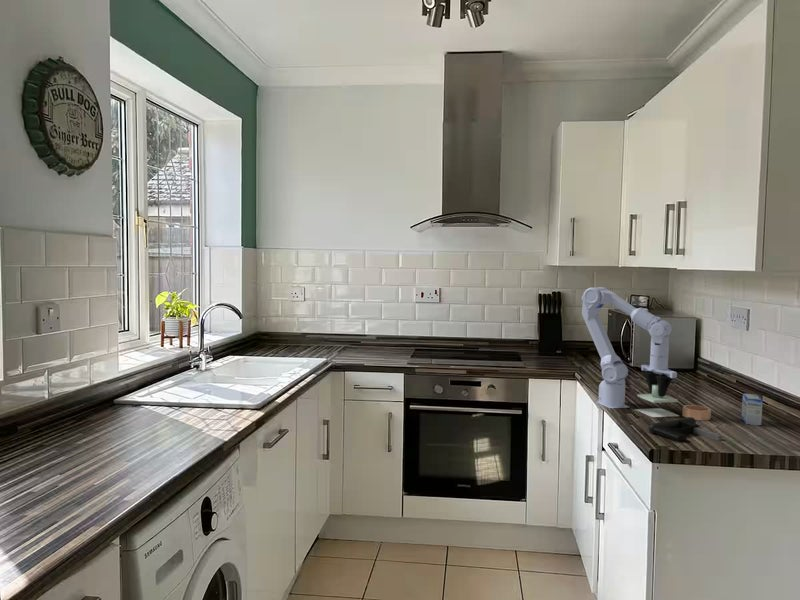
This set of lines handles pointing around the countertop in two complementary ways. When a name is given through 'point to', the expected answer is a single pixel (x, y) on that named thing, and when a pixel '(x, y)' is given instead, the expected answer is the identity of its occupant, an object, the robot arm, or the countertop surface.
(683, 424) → the black dustpan
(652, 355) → the robot arm
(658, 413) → the mat
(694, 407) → the bowl
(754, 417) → the medicine box
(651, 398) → the lid
